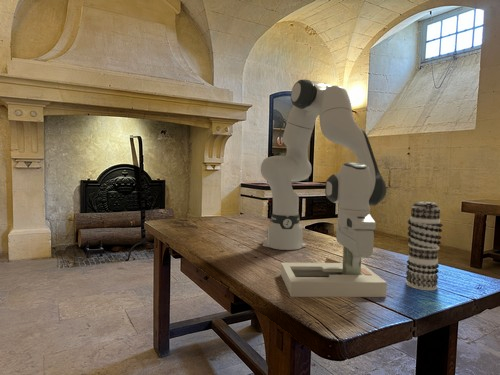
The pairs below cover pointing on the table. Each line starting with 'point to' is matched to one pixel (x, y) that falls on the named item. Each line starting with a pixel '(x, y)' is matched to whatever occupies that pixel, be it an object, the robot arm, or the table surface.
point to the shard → (330, 261)
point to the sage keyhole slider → (349, 264)
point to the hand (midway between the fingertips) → (351, 264)
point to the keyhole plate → (330, 281)
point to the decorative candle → (423, 246)
